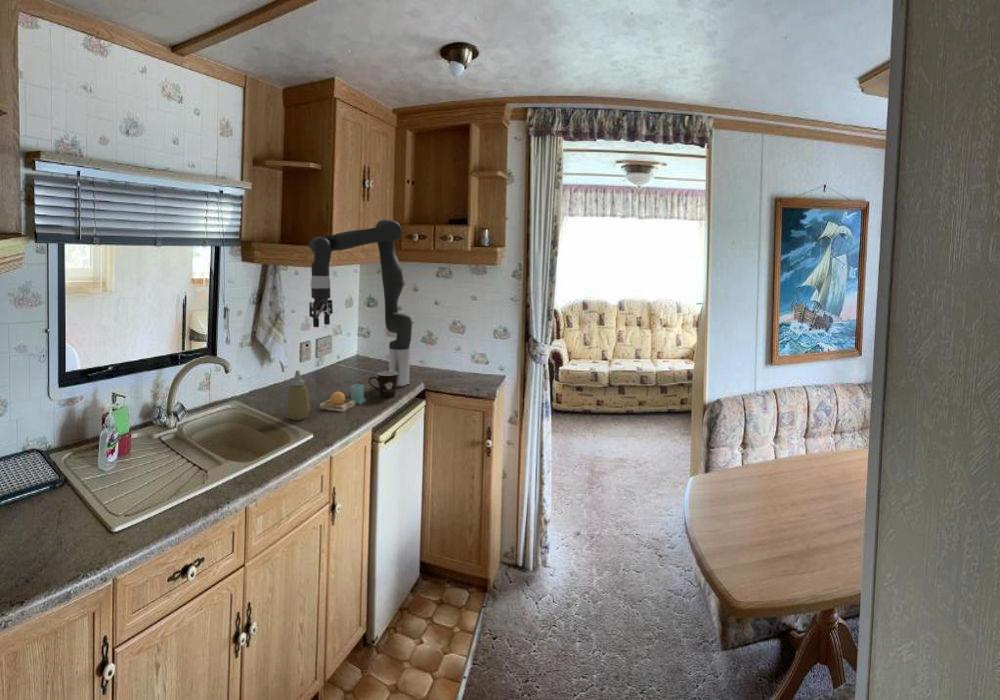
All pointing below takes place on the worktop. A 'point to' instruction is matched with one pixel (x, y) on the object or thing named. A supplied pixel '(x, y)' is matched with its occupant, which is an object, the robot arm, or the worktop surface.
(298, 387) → the squeeze bottle
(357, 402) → the teal box
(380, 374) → the coffee mug
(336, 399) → the ball
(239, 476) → the worktop surface
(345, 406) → the tray
